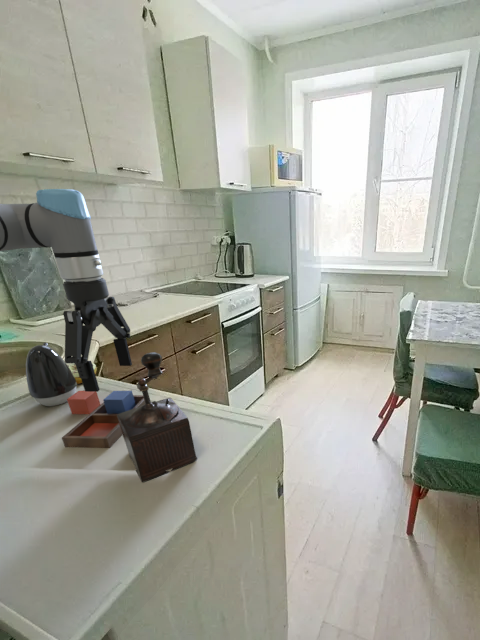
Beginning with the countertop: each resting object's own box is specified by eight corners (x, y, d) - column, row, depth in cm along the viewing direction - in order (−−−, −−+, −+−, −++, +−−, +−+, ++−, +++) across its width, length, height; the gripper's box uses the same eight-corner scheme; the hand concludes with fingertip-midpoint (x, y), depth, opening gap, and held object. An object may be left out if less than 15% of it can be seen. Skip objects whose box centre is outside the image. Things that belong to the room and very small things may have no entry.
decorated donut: (55, 389, 98) (51, 377, 96) (60, 375, 106) (56, 364, 105) (97, 381, 101) (93, 369, 99) (98, 368, 110) (95, 357, 108)
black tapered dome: (84, 389, 97) (67, 336, 90) (77, 406, 88) (56, 348, 81) (42, 396, 94) (21, 342, 87) (30, 414, 85) (5, 355, 78)
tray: (65, 449, 71) (61, 437, 70) (114, 405, 88) (111, 395, 86) (110, 450, 70) (106, 438, 69) (151, 405, 86) (149, 395, 85)
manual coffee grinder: (201, 459, 66) (185, 371, 58) (141, 484, 61) (113, 390, 53) (174, 424, 78) (158, 347, 70) (121, 442, 72) (97, 361, 64)
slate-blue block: (108, 417, 81) (103, 399, 79) (118, 407, 85) (113, 390, 83) (126, 417, 80) (122, 399, 78) (136, 407, 84) (132, 390, 82)
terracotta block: (72, 416, 83) (66, 399, 81) (84, 406, 87) (78, 390, 85) (90, 416, 83) (84, 399, 81) (101, 406, 87) (96, 390, 85)
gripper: (58, 291, 58) (93, 404, 67) (132, 269, 80) (151, 356, 89) (16, 291, 58) (56, 403, 68) (101, 270, 81) (123, 356, 90)
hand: (110, 377), depth 78 cm, fingers open, 13 cm apart
